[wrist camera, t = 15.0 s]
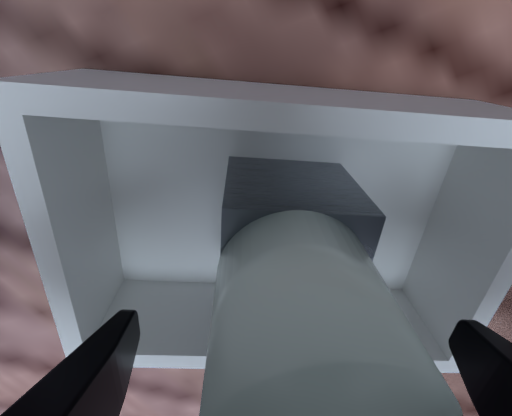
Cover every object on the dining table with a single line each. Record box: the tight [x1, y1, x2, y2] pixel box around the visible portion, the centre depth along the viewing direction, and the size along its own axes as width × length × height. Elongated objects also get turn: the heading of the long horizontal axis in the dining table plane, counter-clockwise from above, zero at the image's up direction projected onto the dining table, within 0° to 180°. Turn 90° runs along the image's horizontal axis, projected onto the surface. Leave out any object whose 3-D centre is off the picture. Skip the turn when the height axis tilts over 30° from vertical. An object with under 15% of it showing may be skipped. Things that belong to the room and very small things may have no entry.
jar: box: [199, 210, 463, 416], centre depth 8 cm, size 5×5×5 cm
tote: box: [0, 69, 512, 373], centre depth 13 cm, size 17×11×6 cm, turn 86°
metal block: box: [220, 156, 386, 262], centre depth 12 cm, size 5×5×5 cm
